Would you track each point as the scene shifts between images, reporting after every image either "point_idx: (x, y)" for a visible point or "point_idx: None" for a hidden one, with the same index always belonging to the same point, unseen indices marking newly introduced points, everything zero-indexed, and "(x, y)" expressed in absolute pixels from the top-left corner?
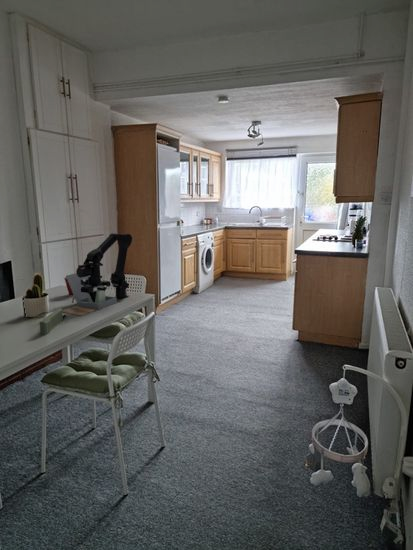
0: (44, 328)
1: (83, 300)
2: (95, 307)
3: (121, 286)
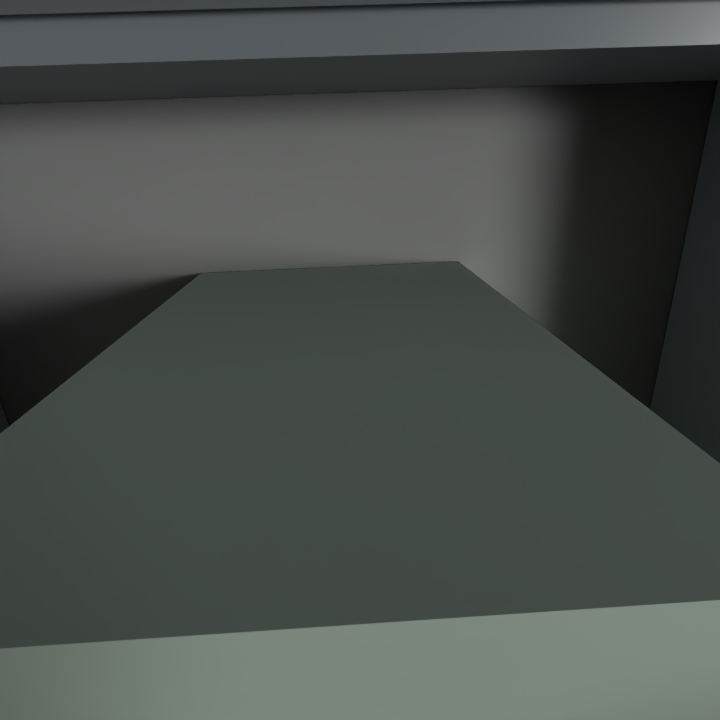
0: None
1: (36, 73)
2: None
3: None
